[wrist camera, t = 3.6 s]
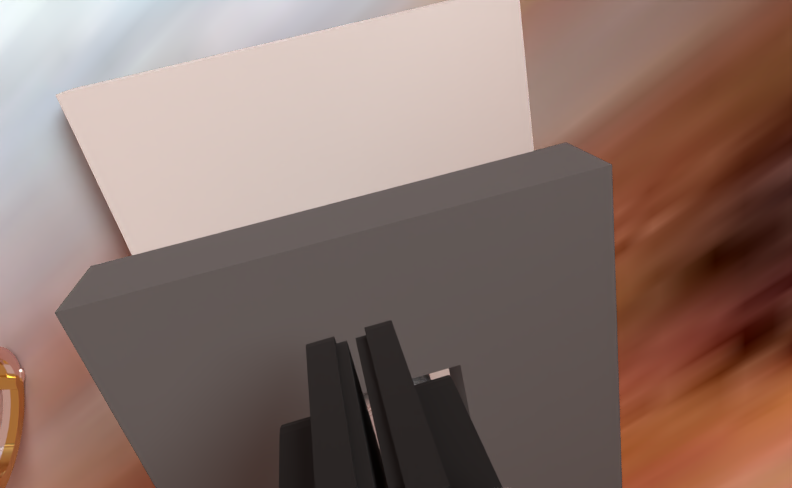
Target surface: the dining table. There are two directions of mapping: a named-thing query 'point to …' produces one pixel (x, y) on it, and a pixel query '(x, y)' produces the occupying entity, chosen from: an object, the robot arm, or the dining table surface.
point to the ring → (10, 412)
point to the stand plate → (305, 120)
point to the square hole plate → (374, 322)
